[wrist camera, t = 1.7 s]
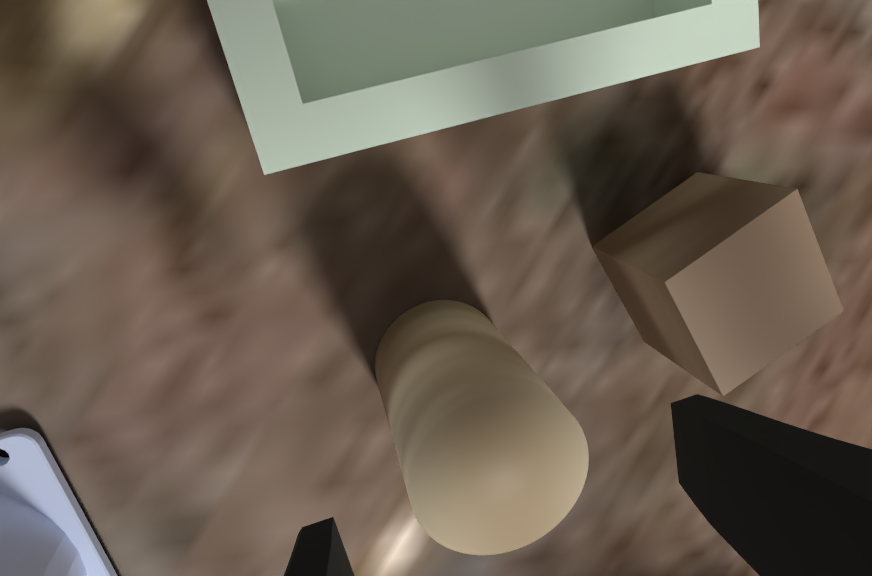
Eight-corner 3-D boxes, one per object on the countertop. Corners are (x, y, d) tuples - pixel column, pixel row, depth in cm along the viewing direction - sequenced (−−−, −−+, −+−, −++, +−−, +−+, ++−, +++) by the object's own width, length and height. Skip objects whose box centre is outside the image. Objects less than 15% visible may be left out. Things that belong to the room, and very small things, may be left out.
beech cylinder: (393, 435, 18) (433, 579, 13) (359, 322, 17) (387, 427, 12) (511, 397, 19) (599, 518, 13) (488, 283, 18) (574, 367, 12)
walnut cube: (643, 340, 20) (723, 396, 16) (590, 245, 18) (664, 282, 14) (740, 271, 20) (843, 310, 16) (695, 171, 18) (797, 189, 14)
